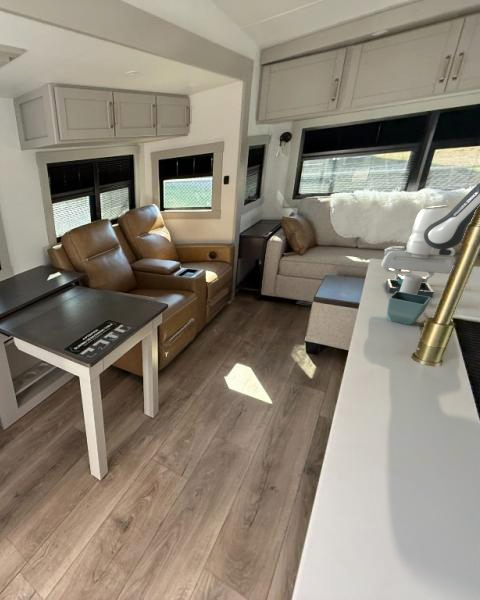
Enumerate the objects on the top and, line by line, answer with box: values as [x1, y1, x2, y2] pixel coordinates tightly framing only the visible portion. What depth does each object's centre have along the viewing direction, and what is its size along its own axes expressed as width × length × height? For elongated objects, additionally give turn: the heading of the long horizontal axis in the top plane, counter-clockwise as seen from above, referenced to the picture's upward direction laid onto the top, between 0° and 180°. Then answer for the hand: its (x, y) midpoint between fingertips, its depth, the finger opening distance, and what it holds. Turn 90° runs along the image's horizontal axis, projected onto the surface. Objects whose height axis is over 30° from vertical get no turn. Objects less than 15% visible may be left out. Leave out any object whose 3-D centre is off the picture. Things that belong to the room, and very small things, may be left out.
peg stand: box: [388, 269, 411, 273], centre depth 152 cm, size 7×7×6 cm
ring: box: [398, 275, 405, 285], centre depth 130 cm, size 6×6×2 cm
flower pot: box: [386, 291, 432, 326], centre depth 109 cm, size 9×9×9 cm
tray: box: [385, 278, 435, 299], centre depth 131 cm, size 13×12×3 cm
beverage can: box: [399, 274, 424, 295], centre depth 118 cm, size 5×5×12 cm
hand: (410, 280), depth 130 cm, fingers closed on ring, 6 cm apart
